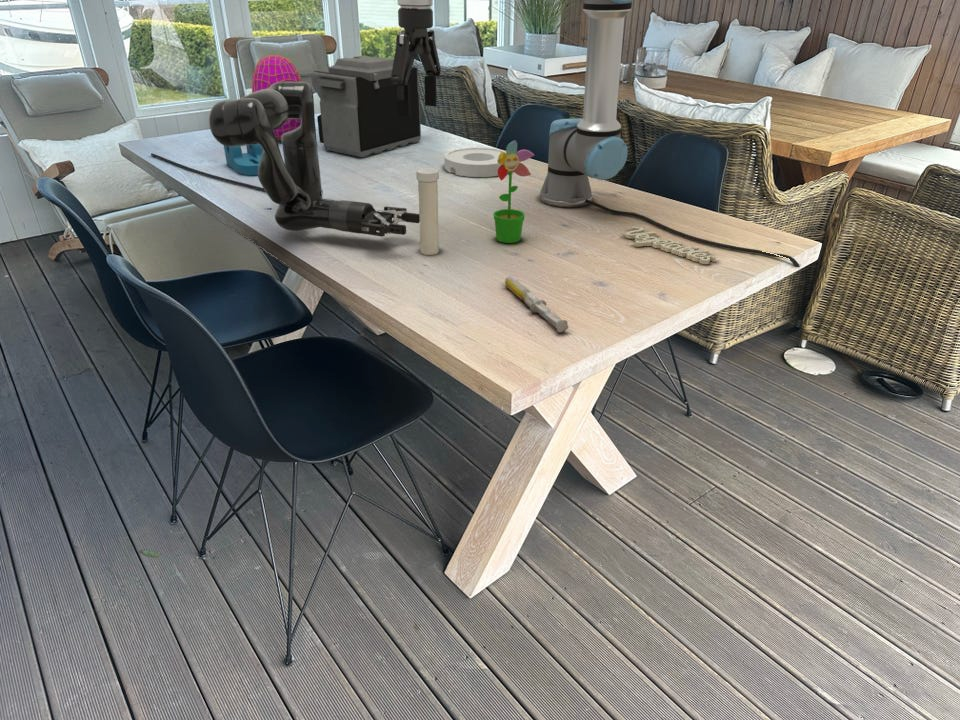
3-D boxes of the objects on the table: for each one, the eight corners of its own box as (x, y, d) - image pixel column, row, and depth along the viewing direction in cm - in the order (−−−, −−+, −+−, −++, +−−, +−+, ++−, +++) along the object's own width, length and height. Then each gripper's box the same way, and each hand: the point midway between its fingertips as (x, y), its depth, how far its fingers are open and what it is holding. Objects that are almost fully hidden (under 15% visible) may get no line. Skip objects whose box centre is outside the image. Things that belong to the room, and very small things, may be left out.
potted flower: (500, 246, 170) (503, 143, 157) (485, 236, 176) (487, 136, 163) (533, 241, 173) (538, 139, 161) (517, 231, 179) (521, 133, 167)
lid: (412, 178, 158) (412, 169, 157) (431, 174, 161) (431, 166, 160) (424, 183, 155) (423, 174, 154) (443, 179, 157) (442, 171, 156)
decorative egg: (293, 132, 276) (283, 50, 261) (319, 140, 264) (310, 56, 249) (249, 139, 265) (236, 54, 250) (273, 148, 253) (261, 60, 238)
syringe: (500, 283, 150) (500, 272, 149) (516, 281, 152) (516, 270, 150) (551, 335, 131) (552, 322, 129) (568, 332, 132) (569, 319, 130)
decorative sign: (611, 234, 176) (635, 225, 181) (610, 237, 176) (634, 229, 182) (700, 264, 159) (723, 254, 164) (699, 268, 159) (723, 257, 165)
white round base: (447, 158, 243) (446, 146, 241) (512, 159, 243) (512, 148, 241) (441, 176, 223) (441, 164, 221) (512, 177, 223) (513, 165, 221)
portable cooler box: (383, 133, 276) (378, 52, 261) (425, 141, 265) (422, 56, 250) (314, 150, 251) (304, 61, 235) (358, 160, 240) (350, 67, 224)
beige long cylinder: (417, 250, 167) (414, 171, 158) (432, 247, 170) (430, 168, 160) (426, 256, 164) (424, 176, 155) (442, 252, 167) (440, 173, 157)
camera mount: (227, 164, 233) (221, 132, 227) (257, 160, 238) (252, 129, 233) (244, 176, 220) (239, 143, 215) (276, 172, 225) (271, 139, 220)
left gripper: (336, 210, 161) (400, 218, 157) (363, 193, 173) (423, 200, 168) (339, 241, 165) (401, 249, 160) (365, 222, 176) (424, 229, 172)
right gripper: (403, 11, 136) (407, 121, 147) (454, 5, 157) (454, 103, 167) (370, 9, 139) (376, 118, 150) (425, 4, 159) (427, 100, 170)
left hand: (412, 224), depth 164 cm, fingers open, 8 cm apart
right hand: (417, 110), depth 158 cm, fingers open, 13 cm apart
